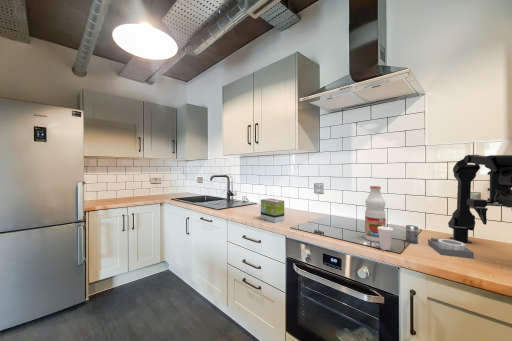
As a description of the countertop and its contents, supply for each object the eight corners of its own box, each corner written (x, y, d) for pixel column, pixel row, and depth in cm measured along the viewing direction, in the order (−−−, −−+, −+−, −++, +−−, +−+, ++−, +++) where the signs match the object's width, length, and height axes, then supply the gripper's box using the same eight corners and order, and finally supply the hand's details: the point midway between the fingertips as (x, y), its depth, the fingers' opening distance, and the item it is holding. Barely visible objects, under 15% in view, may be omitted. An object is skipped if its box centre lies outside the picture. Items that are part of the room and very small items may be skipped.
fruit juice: (377, 236, 119) (378, 185, 119) (389, 242, 110) (390, 187, 110) (361, 236, 119) (361, 185, 119) (371, 242, 109) (372, 186, 109)
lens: (404, 240, 114) (404, 224, 114) (415, 241, 112) (416, 225, 112) (407, 243, 109) (407, 226, 109) (419, 244, 107) (419, 227, 107)
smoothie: (394, 248, 101) (394, 218, 101) (391, 252, 96) (392, 221, 96) (379, 245, 105) (379, 216, 105) (375, 249, 100) (375, 218, 100)
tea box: (260, 219, 159) (260, 199, 159) (269, 217, 166) (269, 198, 166) (275, 223, 148) (275, 201, 148) (284, 221, 154) (285, 200, 154)
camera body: (427, 244, 107) (428, 235, 107) (455, 247, 104) (455, 237, 104) (441, 254, 94) (441, 244, 94) (473, 258, 91) (473, 247, 91)
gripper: (482, 187, 82) (482, 228, 82) (552, 189, 76) (551, 233, 76) (466, 185, 93) (465, 221, 93) (525, 186, 86) (525, 225, 87)
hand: (499, 225), depth 87 cm, fingers open, 9 cm apart
